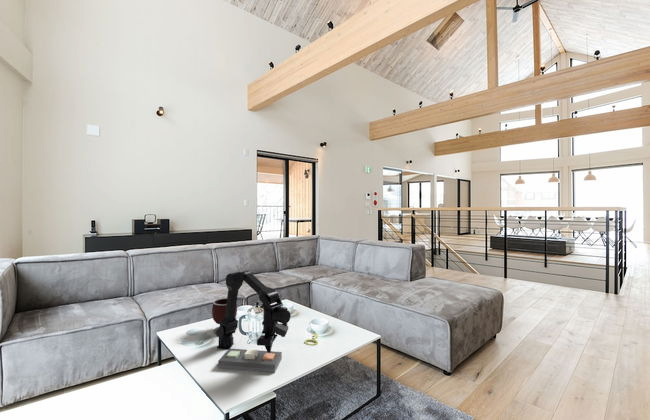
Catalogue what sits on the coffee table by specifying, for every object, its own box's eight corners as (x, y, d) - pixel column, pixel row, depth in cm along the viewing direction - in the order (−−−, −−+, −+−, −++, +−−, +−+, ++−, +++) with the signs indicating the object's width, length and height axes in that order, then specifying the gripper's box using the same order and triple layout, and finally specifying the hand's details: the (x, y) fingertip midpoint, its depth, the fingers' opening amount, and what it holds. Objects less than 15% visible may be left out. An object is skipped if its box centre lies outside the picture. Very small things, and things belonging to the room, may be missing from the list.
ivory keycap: (244, 359, 141) (244, 353, 141) (248, 354, 145) (248, 349, 145) (254, 360, 140) (254, 354, 140) (257, 355, 145) (257, 349, 145)
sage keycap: (226, 360, 142) (226, 355, 142) (230, 355, 146) (230, 350, 146) (236, 361, 141) (236, 356, 141) (240, 356, 146) (240, 351, 146)
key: (318, 336, 175) (318, 332, 175) (317, 346, 163) (317, 342, 163) (305, 336, 175) (305, 332, 175) (304, 346, 163) (304, 342, 163)
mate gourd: (227, 336, 171) (228, 301, 171) (206, 333, 175) (207, 298, 175) (242, 326, 186) (243, 293, 186) (222, 323, 190) (223, 291, 190)
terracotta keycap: (262, 363, 140) (262, 357, 140) (265, 358, 145) (265, 353, 144) (272, 364, 139) (272, 358, 139) (275, 359, 144) (275, 353, 144)
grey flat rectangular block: (218, 368, 138) (218, 360, 138) (229, 355, 150) (229, 348, 150) (274, 372, 136) (275, 364, 136) (281, 359, 148) (281, 352, 147)
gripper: (281, 327, 132) (281, 363, 132) (291, 312, 150) (290, 344, 150) (256, 326, 133) (256, 362, 133) (268, 311, 151) (268, 343, 151)
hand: (269, 352), depth 142 cm, fingers closed
